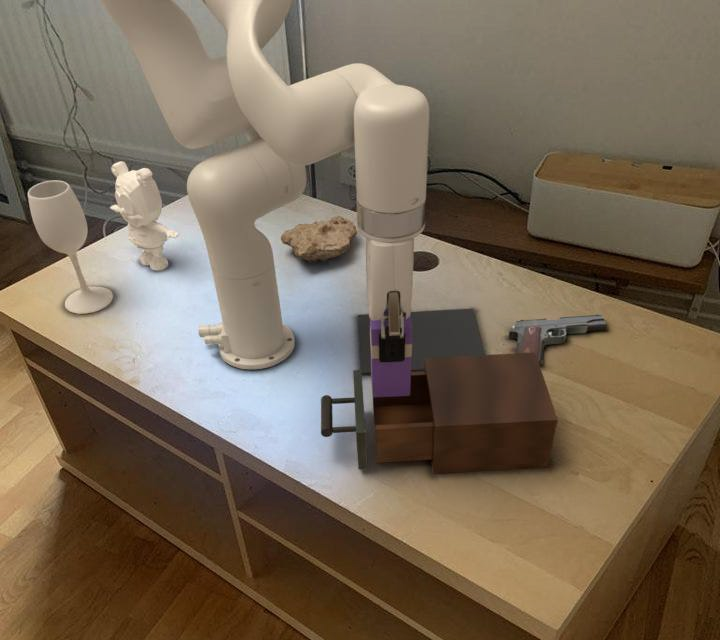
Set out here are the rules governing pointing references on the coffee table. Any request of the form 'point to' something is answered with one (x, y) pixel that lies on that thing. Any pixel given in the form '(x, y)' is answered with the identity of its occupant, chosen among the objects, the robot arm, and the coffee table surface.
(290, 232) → the rock
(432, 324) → the mat
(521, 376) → the cabinet
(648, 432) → the coffee table surface
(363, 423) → the drawer
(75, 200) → the wineglass
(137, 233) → the white cartoon figurine
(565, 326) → the handgun
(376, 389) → the snack box
